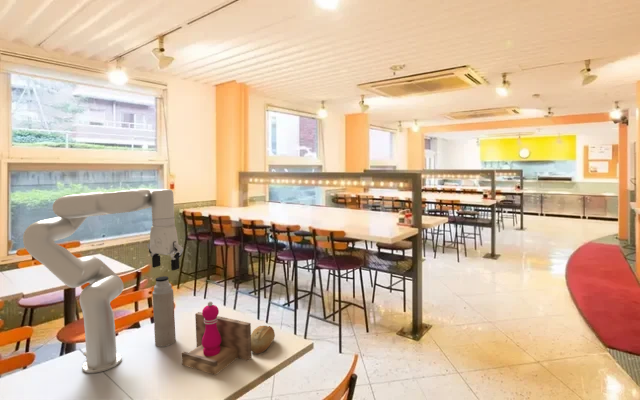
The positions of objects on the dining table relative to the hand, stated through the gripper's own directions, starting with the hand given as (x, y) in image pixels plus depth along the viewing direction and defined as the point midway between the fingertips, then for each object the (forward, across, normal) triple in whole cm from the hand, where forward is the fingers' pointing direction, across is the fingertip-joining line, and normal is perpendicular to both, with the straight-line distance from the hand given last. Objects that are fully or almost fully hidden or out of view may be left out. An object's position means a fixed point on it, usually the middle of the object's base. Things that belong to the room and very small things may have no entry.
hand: (165, 268), depth 131 cm
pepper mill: (+34, +14, +7) cm, 37 cm away
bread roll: (+37, +26, +24) cm, 51 cm away
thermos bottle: (+36, -14, +10) cm, 40 cm away
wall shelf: (+36, +14, +7) cm, 40 cm away
